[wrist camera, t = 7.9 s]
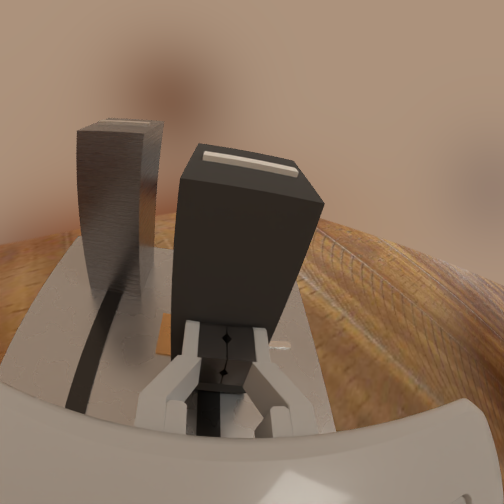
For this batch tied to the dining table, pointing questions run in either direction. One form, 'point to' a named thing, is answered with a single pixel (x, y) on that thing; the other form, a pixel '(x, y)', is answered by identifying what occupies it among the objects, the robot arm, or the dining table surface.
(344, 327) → the dining table surface
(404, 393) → the dining table surface
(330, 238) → the dining table surface
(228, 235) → the fader knob
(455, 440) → the robot arm
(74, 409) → the console
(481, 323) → the dining table surface
